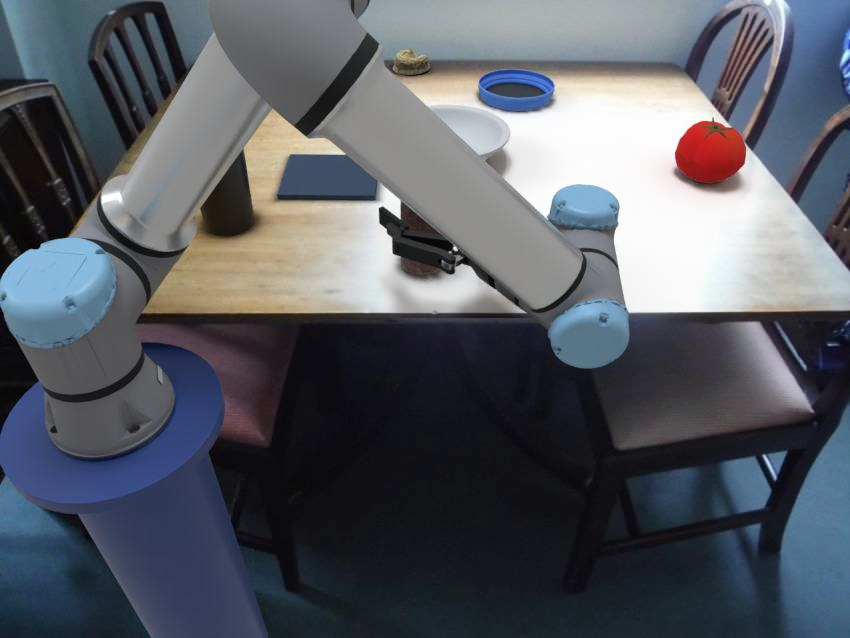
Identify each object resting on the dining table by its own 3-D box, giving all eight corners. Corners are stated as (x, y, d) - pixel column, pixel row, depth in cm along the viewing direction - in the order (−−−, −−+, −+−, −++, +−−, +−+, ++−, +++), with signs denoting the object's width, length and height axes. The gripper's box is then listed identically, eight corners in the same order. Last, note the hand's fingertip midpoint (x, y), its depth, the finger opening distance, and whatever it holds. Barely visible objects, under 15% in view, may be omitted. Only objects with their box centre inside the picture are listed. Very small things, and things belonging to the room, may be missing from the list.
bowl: (530, 79, 167) (531, 64, 165) (566, 106, 155) (569, 91, 152) (465, 88, 162) (466, 74, 160) (497, 117, 150) (499, 102, 147)
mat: (277, 199, 122) (276, 194, 121) (290, 158, 134) (289, 154, 133) (375, 200, 122) (375, 195, 121) (379, 159, 134) (379, 154, 133)
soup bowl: (527, 151, 137) (531, 121, 133) (470, 202, 122) (473, 169, 117) (429, 124, 147) (429, 95, 142) (365, 167, 131) (363, 136, 127)
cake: (412, 81, 167) (410, 59, 163) (384, 71, 172) (382, 50, 168) (438, 67, 172) (437, 46, 168) (411, 58, 177) (409, 38, 173)
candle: (409, 246, 111) (409, 134, 98) (451, 254, 109) (457, 142, 96) (394, 272, 105) (391, 157, 92) (438, 281, 103) (441, 165, 90)
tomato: (662, 159, 135) (675, 110, 128) (722, 160, 135) (739, 110, 128) (681, 193, 125) (696, 141, 118) (746, 193, 125) (765, 141, 118)
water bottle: (209, 206, 119) (179, 80, 104) (265, 208, 119) (243, 82, 104) (192, 238, 112) (157, 107, 97) (252, 240, 112) (226, 109, 96)
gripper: (438, 325, 85) (350, 248, 98) (572, 258, 96) (478, 197, 109) (439, 279, 80) (346, 204, 93) (581, 214, 91) (481, 156, 104)
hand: (417, 200), depth 101 cm, fingers open, 13 cm apart
